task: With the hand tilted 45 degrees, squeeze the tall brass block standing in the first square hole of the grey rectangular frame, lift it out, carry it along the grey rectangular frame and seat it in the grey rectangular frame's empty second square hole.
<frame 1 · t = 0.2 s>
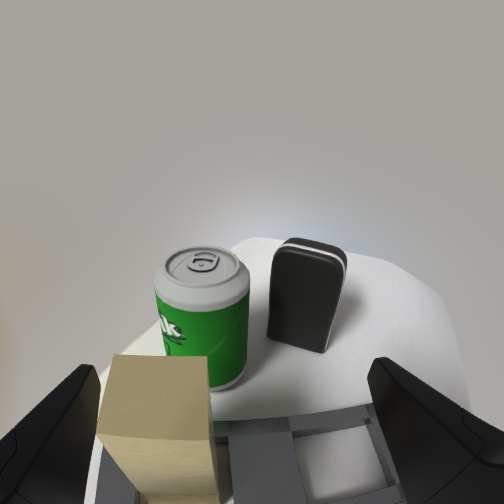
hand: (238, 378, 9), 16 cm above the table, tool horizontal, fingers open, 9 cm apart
soda can: (207, 370, 30), on the table
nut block: (185, 480, 19), resting in grey rectangular frame
grey rectangular frame: (264, 477, 20), on the table
battery charger: (298, 338, 34), on the table
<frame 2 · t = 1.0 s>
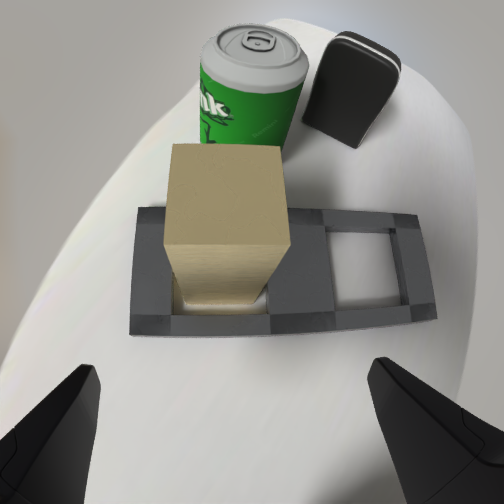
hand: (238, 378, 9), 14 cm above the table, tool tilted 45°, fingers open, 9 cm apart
soda can: (240, 149, 29), on the table
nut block: (219, 272, 24), resting in grey rectangular frame
grey rectangular frame: (295, 271, 25), on the table
battery charger: (332, 127, 32), on the table
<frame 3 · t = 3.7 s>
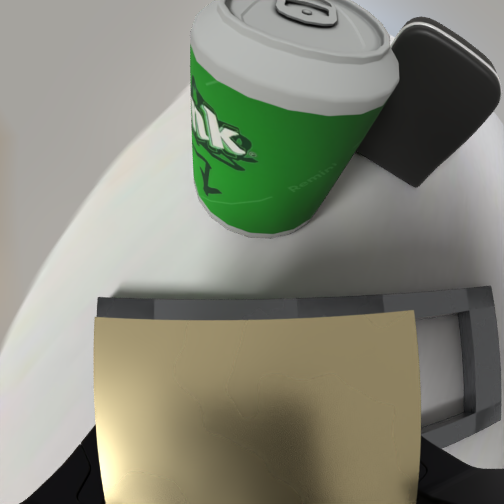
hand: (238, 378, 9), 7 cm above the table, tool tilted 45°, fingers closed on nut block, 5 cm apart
soda can: (256, 189, 19), on the table
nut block: (228, 399, 15), resting in grey rectangular frame, touching gripper
grey rectangular frame: (340, 390, 16), on the table
battery charger: (383, 153, 22), on the table
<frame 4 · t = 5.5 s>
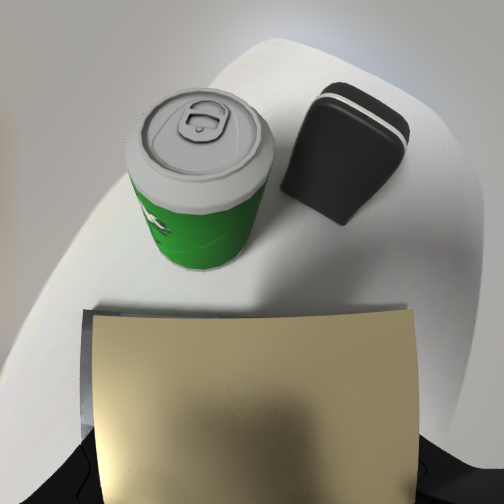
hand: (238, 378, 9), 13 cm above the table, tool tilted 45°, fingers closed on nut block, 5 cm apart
soda can: (201, 231, 25), on the table
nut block: (227, 399, 15), point 7 cm above the table, touching gripper
grey rectangular frame: (253, 387, 21), on the table
battery charger: (318, 195, 28), on the table
when the fingers open (8 cm above the table, at t = 7.5 s): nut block drops 1 cm, resting in grey rectangular frame.
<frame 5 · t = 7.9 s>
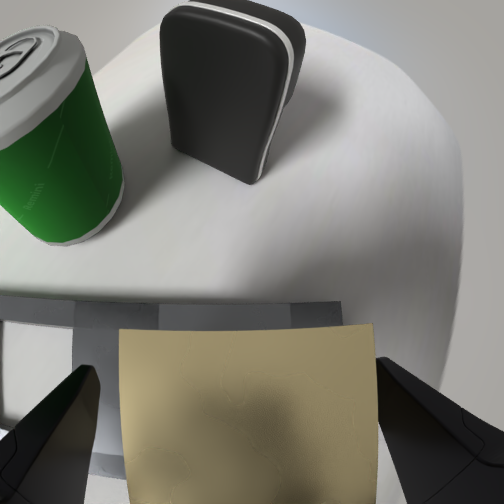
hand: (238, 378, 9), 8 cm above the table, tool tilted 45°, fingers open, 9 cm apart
soda can: (77, 201, 19), on the table
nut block: (226, 396, 16), resting in grey rectangular frame
grey rectangular frame: (120, 392, 15), on the table
battery charger: (223, 151, 22), on the table
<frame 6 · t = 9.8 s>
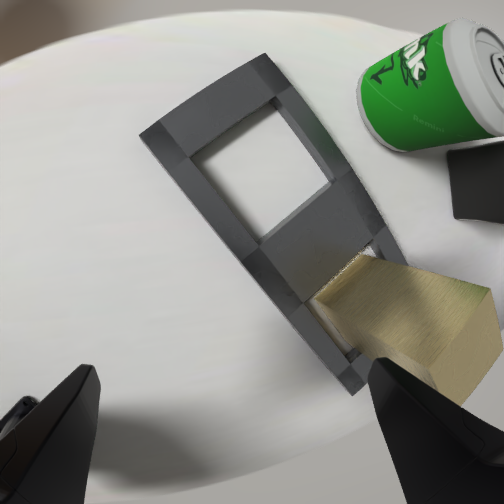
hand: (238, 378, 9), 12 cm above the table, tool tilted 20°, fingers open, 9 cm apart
soda can: (385, 110, 23), on the table
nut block: (354, 299, 24), resting in grey rectangular frame
grey rectangular frame: (313, 239, 22), on the table
battery charger: (458, 183, 25), on the table
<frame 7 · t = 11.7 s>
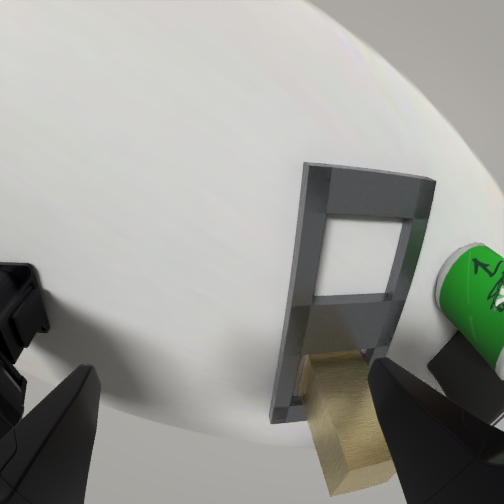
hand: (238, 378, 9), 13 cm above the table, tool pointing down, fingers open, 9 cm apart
soda can: (457, 273, 26), on the table
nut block: (327, 369, 28), resting in grey rectangular frame
grey rectangular frame: (341, 320, 25), on the table
battery charger: (450, 347, 30), on the table
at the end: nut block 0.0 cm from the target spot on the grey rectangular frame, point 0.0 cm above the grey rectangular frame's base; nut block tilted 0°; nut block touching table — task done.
